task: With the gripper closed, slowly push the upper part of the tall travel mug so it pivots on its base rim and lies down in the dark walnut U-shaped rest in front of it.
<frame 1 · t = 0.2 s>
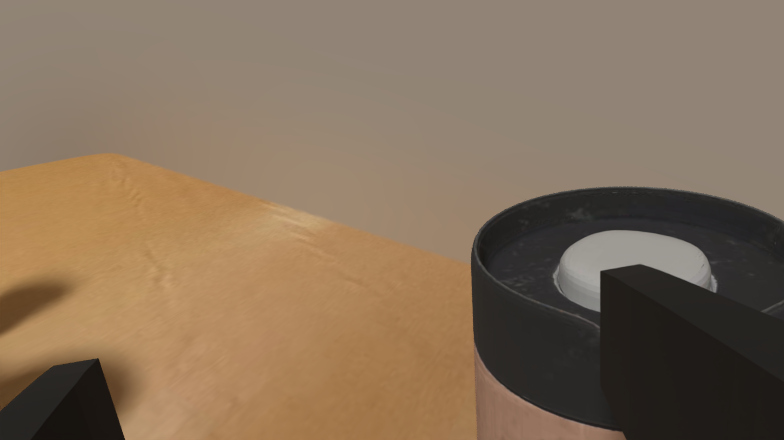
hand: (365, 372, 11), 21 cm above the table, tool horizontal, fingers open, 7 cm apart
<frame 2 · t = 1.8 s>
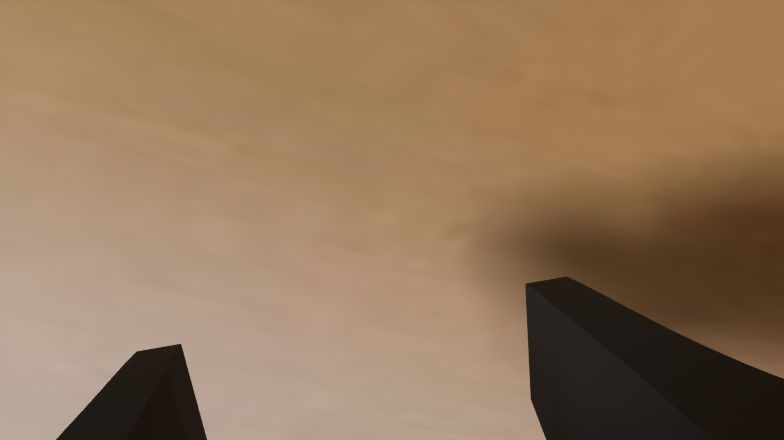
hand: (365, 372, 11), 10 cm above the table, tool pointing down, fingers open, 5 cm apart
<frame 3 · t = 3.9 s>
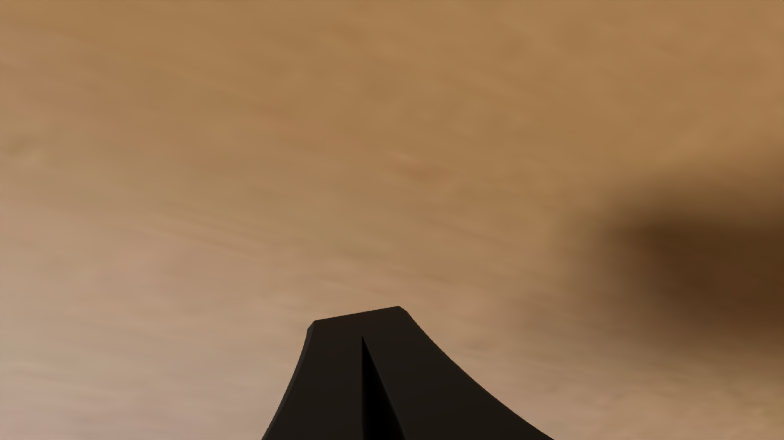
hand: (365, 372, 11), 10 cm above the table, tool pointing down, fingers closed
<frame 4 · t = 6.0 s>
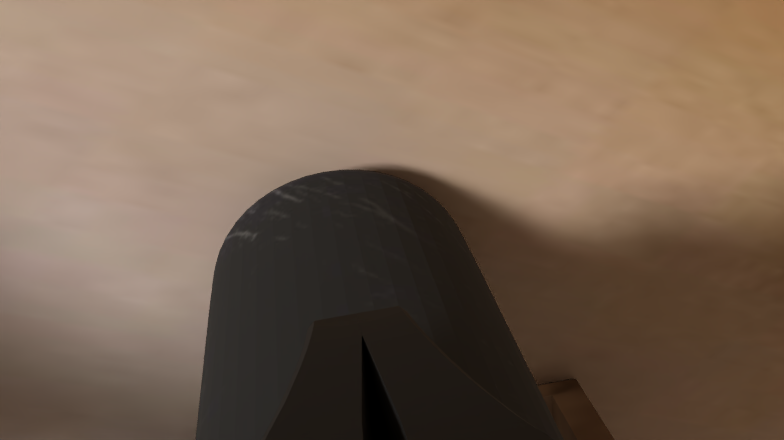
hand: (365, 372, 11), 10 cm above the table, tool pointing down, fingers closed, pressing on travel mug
travel mug: (341, 273, 21), on the table, touching gripper
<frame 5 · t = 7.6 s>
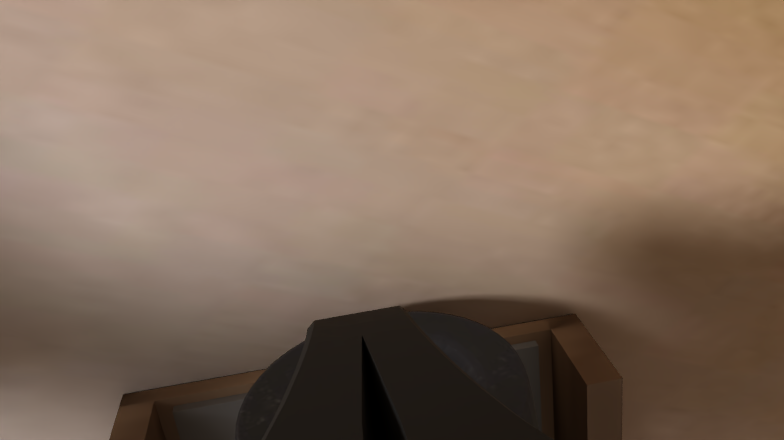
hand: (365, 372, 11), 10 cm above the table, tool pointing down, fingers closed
travel mug: (377, 385, 18), point 5 cm above the table, touching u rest
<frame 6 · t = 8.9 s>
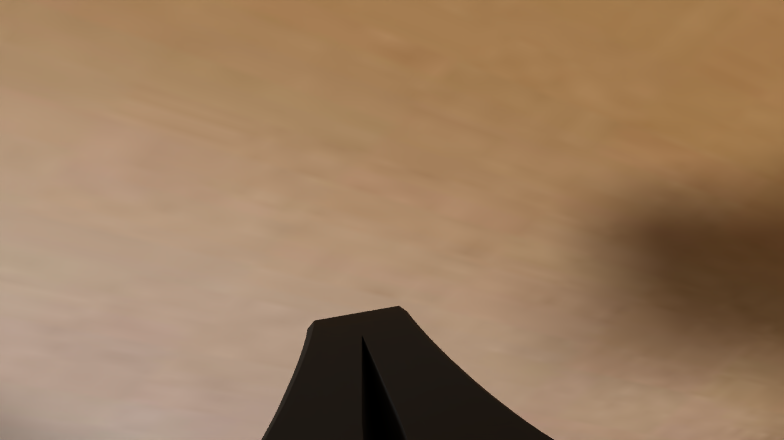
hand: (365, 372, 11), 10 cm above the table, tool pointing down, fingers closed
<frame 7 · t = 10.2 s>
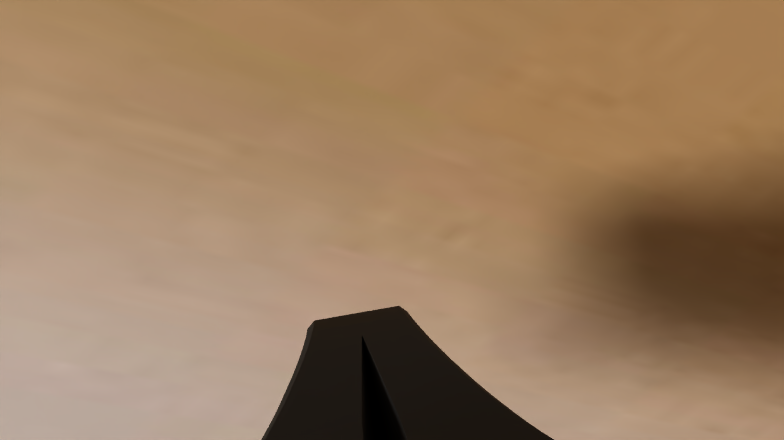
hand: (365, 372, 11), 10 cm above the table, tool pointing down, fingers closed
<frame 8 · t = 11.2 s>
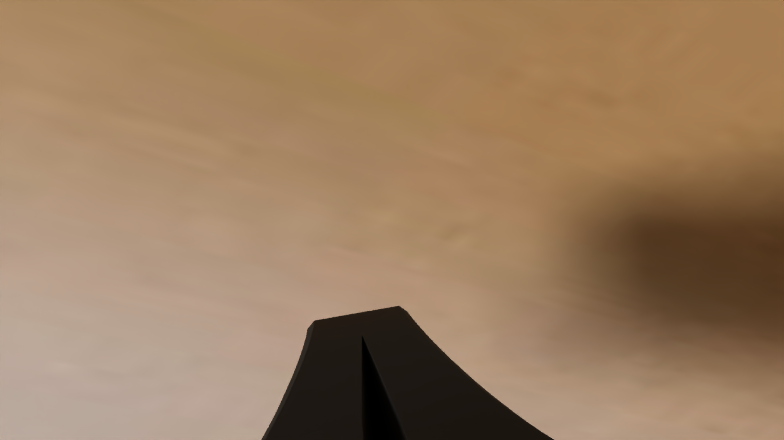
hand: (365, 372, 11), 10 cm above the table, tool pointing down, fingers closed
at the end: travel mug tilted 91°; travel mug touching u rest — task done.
